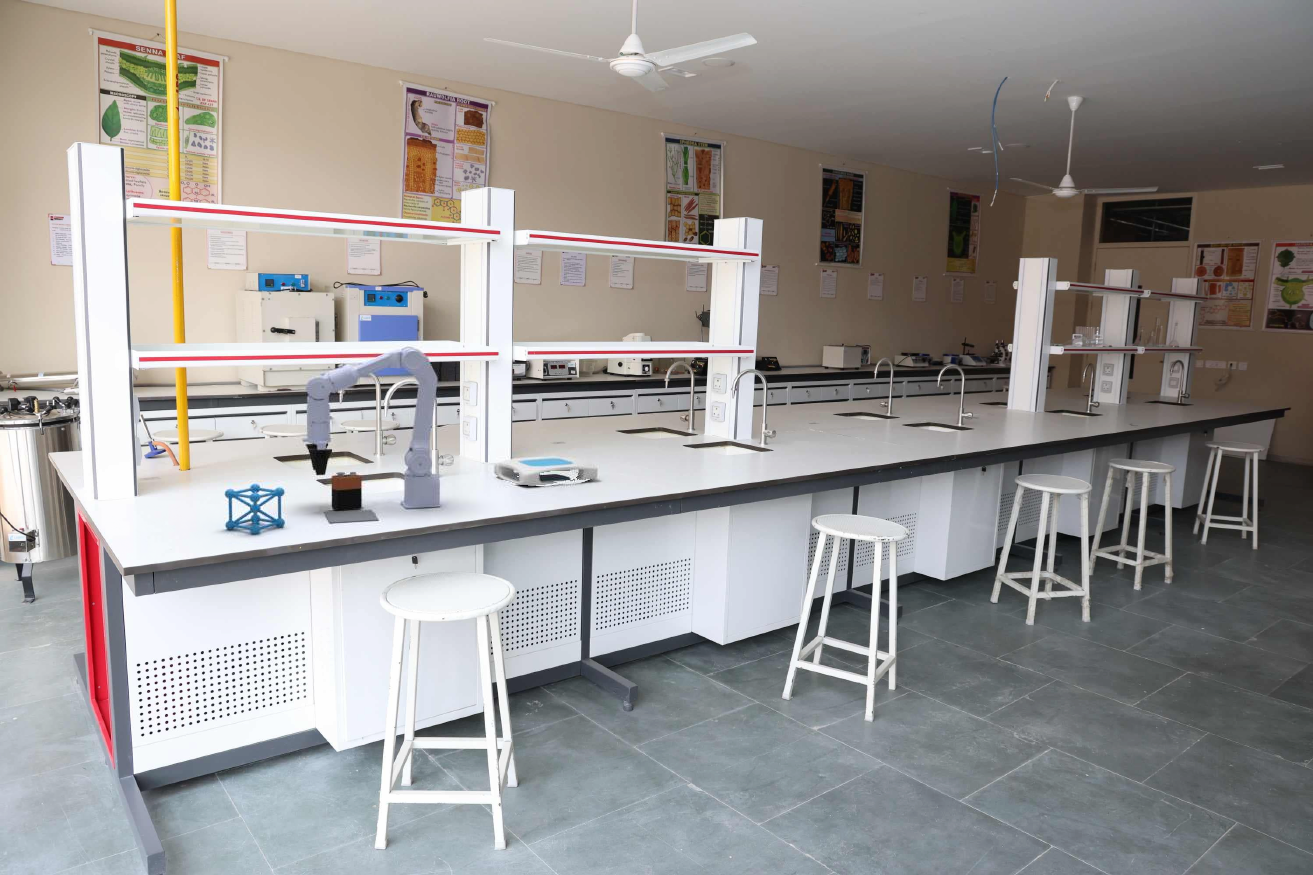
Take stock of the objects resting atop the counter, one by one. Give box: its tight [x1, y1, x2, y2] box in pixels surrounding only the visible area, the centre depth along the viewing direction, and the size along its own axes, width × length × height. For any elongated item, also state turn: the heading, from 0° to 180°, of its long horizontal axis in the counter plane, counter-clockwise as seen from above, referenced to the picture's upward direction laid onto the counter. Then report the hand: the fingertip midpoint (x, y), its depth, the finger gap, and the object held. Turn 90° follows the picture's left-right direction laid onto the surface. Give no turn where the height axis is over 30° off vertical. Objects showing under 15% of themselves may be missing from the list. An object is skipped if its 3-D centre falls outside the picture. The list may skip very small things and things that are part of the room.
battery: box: [331, 471, 363, 511], centre depth 236 cm, size 4×7×10 cm, turn 132°
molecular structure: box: [224, 483, 286, 535], centre depth 213 cm, size 10×10×10 cm
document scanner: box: [493, 455, 598, 487], centre depth 293 cm, size 21×28×6 cm
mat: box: [323, 509, 379, 524], centre depth 229 cm, size 12×12×1 cm
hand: (319, 472), depth 235 cm, fingers open, 7 cm apart
